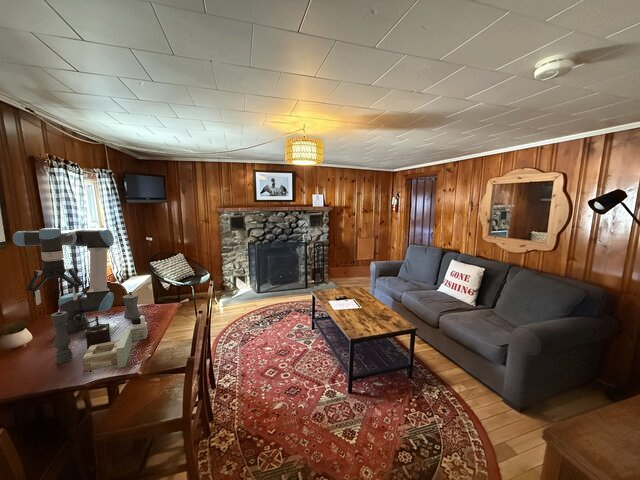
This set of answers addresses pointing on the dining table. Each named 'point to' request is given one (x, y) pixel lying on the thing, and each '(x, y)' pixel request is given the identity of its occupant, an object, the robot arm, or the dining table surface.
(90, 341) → the coffee grinder
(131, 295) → the coffeepot
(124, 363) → the backstop wall
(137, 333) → the container
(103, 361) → the socket block
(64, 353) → the candle holder
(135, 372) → the dining table surface
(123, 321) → the dining table surface
